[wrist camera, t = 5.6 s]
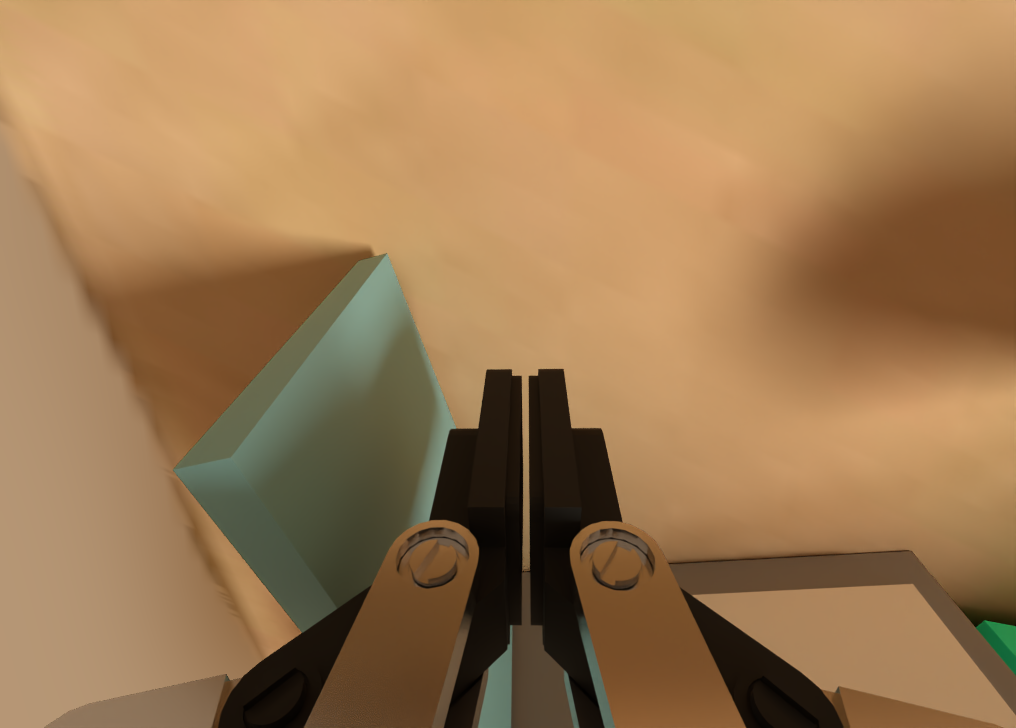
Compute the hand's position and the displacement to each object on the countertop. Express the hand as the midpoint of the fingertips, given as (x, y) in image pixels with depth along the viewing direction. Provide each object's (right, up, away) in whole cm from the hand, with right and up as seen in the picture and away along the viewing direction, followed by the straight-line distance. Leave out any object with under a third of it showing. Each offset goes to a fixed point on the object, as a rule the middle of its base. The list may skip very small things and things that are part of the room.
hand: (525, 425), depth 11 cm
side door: (-2, -1, +5) cm, 6 cm away
